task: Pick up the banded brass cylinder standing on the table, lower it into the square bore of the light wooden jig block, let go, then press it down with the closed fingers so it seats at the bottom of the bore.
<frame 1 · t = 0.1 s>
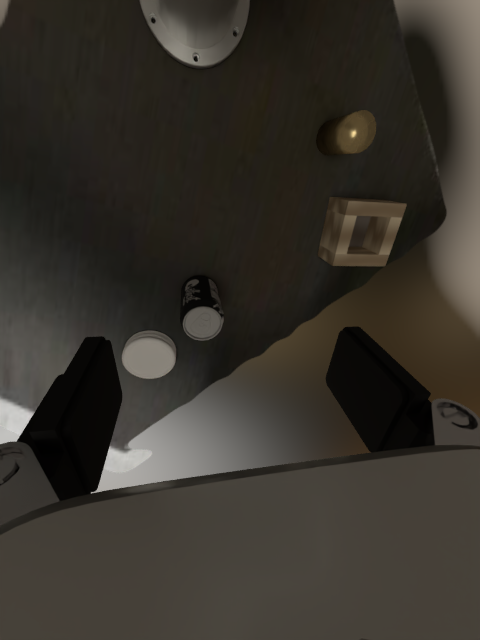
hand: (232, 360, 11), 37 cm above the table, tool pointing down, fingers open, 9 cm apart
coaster: (151, 349, 54), on the table
jig: (348, 228, 47), on the table
beverage can: (199, 290, 49), on the table
banded brass cylinder: (330, 138, 40), on the table
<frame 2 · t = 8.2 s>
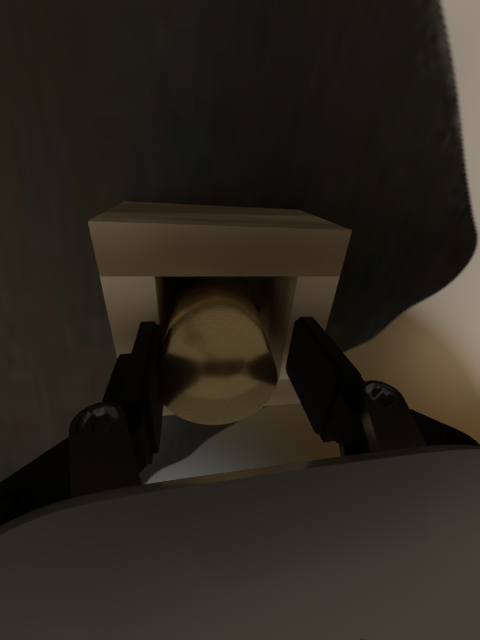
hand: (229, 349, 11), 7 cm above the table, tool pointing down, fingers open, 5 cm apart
jig: (215, 286, 17), on the table
banded brass cylinder: (214, 293, 16), point 1 cm above the table, touching gripper
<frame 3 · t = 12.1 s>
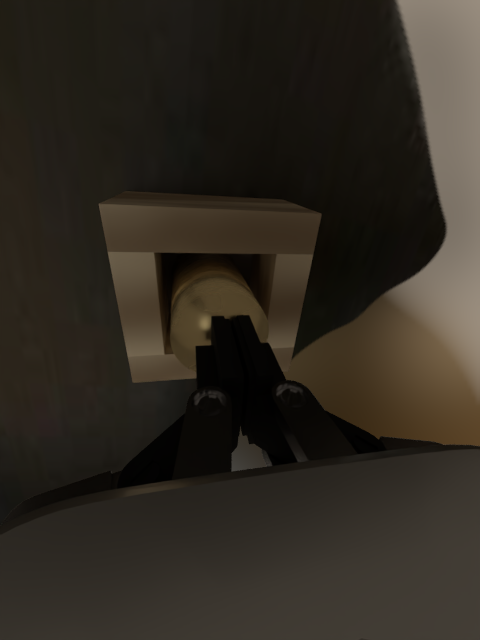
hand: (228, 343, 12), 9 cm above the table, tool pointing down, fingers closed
jig: (208, 269, 19), on the table
banded brass cylinder: (204, 274, 18), point 1 cm above the table, touching gripper, jig
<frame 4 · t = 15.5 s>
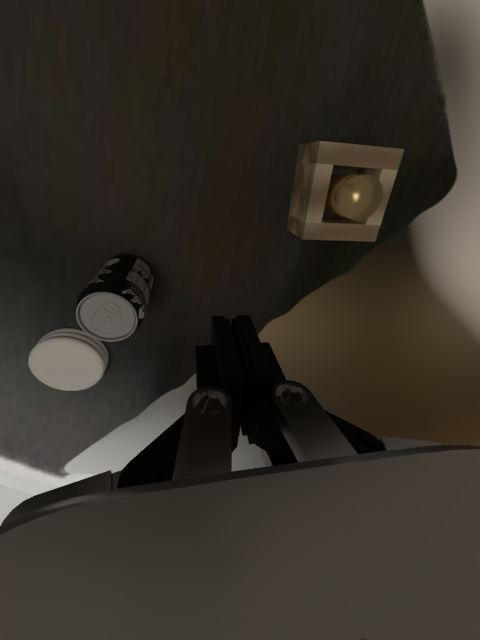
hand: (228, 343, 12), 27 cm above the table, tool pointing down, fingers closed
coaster: (75, 352, 42), on the table
jig: (327, 192, 35), on the table
beverage can: (129, 275, 37), on the table
banded brass cylinder: (328, 192, 34), point 1 cm above the table, touching jig
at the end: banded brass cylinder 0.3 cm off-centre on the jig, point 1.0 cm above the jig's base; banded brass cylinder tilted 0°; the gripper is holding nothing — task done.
